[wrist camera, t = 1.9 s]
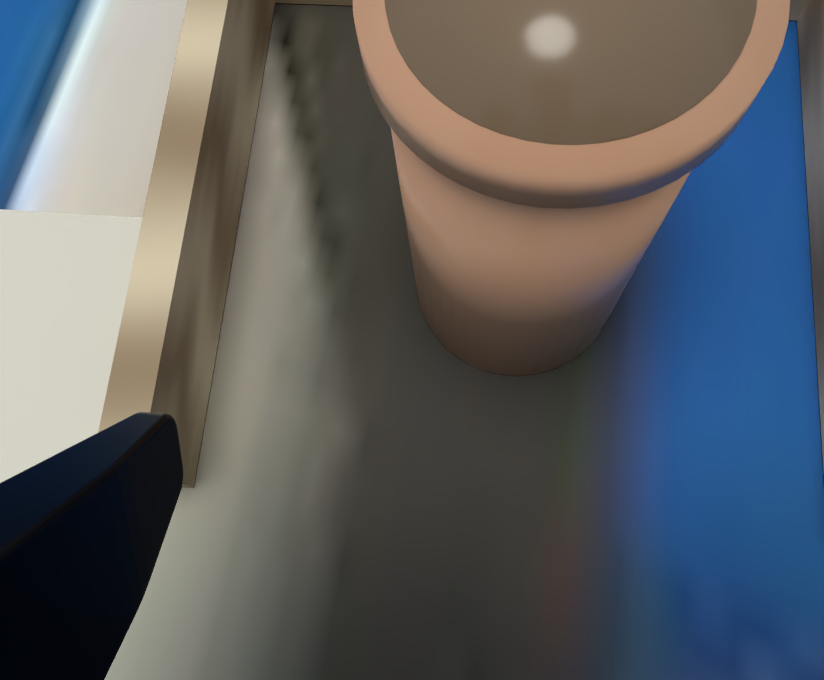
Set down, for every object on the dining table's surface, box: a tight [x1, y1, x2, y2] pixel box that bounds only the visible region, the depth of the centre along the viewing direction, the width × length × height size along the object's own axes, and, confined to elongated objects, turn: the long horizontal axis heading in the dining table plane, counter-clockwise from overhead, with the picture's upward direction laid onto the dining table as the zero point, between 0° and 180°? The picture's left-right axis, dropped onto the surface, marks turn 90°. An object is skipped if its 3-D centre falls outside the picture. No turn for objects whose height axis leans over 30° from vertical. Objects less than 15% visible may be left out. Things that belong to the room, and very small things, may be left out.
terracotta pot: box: [353, 0, 790, 376], centre depth 18 cm, size 7×7×13 cm
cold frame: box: [98, 0, 824, 488], centre depth 21 cm, size 18×20×7 cm
